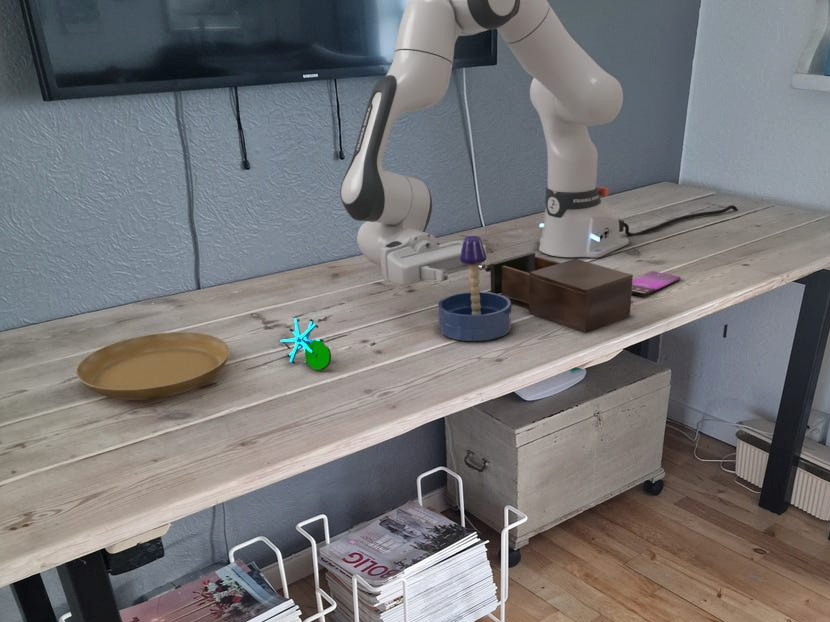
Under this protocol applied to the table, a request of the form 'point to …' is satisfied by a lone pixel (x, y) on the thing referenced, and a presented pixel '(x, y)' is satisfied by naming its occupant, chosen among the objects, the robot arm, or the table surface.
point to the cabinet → (580, 294)
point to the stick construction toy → (309, 347)
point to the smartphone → (651, 282)
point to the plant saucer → (153, 365)
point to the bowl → (474, 317)
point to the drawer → (516, 275)
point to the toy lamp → (473, 267)
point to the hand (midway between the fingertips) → (464, 270)
